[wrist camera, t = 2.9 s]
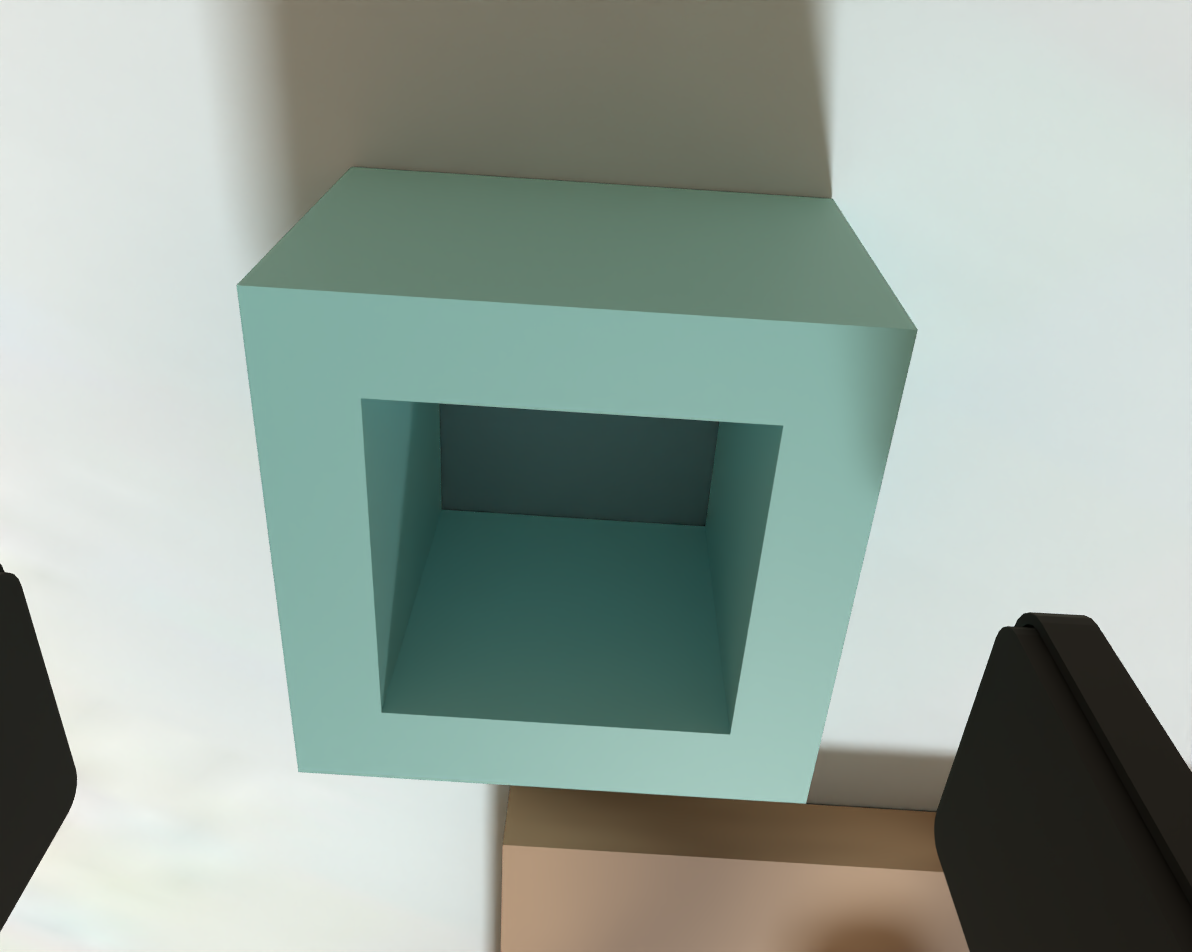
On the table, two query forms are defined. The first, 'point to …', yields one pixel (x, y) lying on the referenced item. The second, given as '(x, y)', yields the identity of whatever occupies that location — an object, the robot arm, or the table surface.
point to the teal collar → (558, 544)
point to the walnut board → (719, 876)
